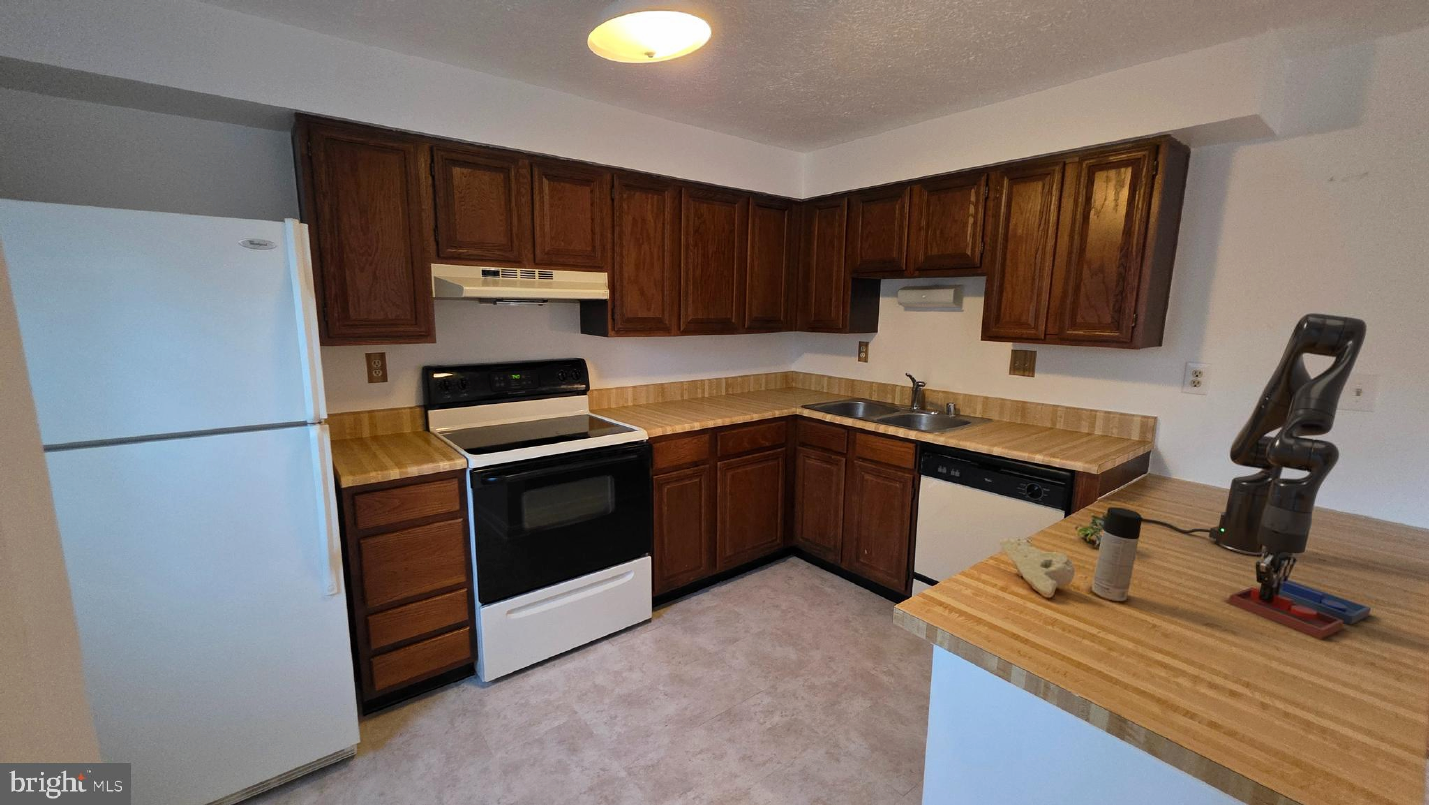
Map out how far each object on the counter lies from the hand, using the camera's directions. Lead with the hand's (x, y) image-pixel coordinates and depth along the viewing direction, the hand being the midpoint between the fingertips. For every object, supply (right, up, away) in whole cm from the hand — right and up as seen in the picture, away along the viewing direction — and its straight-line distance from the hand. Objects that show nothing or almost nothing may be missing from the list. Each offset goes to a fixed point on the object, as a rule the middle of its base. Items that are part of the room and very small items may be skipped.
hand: (1267, 600), depth 126 cm
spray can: (-34, 0, +3) cm, 34 cm away
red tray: (+1, -3, -2) cm, 4 cm away
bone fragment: (-50, +2, +7) cm, 51 cm away
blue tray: (+15, -2, +4) cm, 15 cm away
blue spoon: (+15, -2, +4) cm, 15 cm away
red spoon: (+1, -1, -2) cm, 3 cm away
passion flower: (-15, +4, +31) cm, 35 cm away
